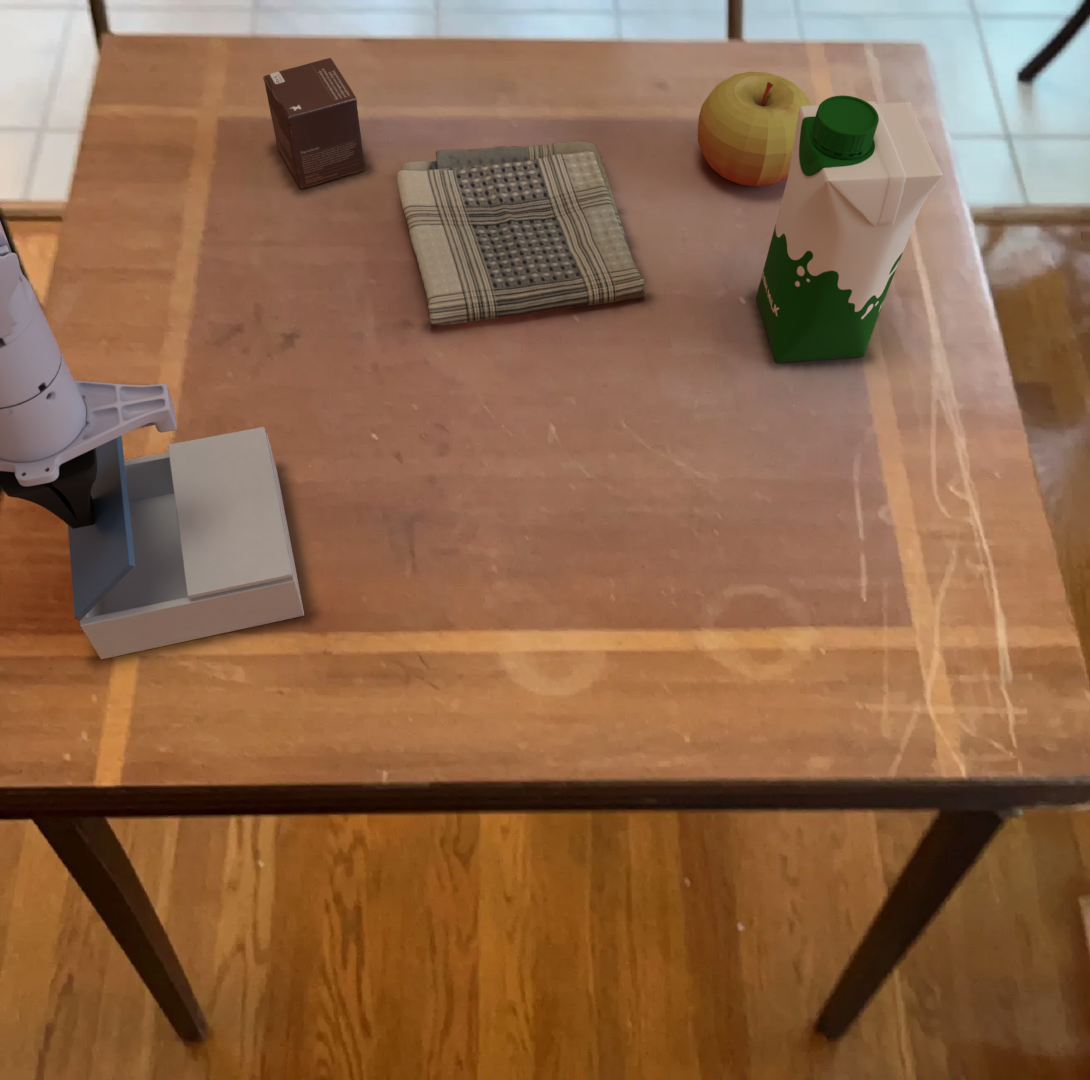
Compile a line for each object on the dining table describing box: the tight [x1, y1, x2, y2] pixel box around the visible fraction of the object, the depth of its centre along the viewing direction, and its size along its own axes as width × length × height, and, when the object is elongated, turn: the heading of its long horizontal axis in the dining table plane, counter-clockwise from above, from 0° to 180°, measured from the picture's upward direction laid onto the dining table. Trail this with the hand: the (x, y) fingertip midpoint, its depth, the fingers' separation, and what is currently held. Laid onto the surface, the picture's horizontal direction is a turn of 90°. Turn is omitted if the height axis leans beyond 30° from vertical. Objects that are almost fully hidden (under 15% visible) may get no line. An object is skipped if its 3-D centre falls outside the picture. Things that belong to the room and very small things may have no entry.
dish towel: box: [396, 140, 646, 326], centre depth 95 cm, size 19×18×3 cm
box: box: [262, 57, 366, 189], centre depth 98 cm, size 6×6×7 cm
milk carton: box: [755, 95, 944, 364], centre depth 84 cm, size 9×9×20 cm
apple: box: [697, 71, 812, 187], centre depth 99 cm, size 10×10×8 cm
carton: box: [79, 426, 305, 660], centre depth 77 cm, size 13×12×5 cm
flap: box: [67, 435, 135, 621], centre depth 72 cm, size 6×12×1 cm
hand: (82, 513), depth 72 cm, fingers closed
